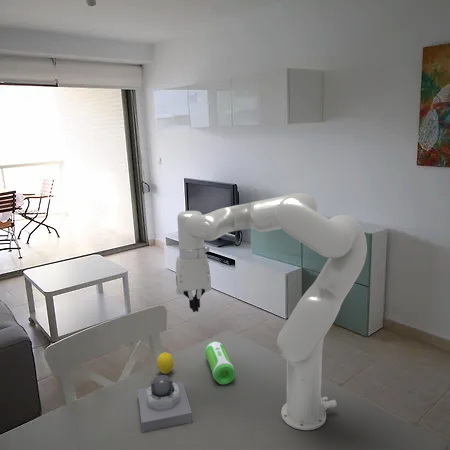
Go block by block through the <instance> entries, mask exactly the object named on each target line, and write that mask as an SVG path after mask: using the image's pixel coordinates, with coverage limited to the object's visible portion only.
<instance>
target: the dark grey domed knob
mask: <svg viewBox="0 0 450 450" xmlns="http://www.w3.org/2000/svg"><path fill="white" fill-rule="evenodd" d="M173 383H174V382H173V377H169V376H168V375H167V374H159V375H157V376H155V377H154V378H153V380H150V386H151V392H152V393H155V396H157V397H159V398H160V397H165V396H169V395H170V391H171V390H173Z"/></svg>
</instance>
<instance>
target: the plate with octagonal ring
mask: <svg viewBox="0 0 450 450" xmlns="http://www.w3.org/2000/svg"><path fill="white" fill-rule="evenodd" d="M175 383H176V384H177V385H178V389H179V397H180V402H179V403H178V404H177V405H175V406H174V407H173V408H172V409H168V410H163V411H157V410H154V409H152V408H149V405H148V398H147V389H148V388H149V387H145V388H139V389H137V394H138V395H137V396H138V406H139V414H140V422H141V431H142V433H145V432H150V431H155V430H159V429H165V428H170V427H175V426H179V425H185V424H190V423H193V412H192V408H191V405H190V402H189V399H188V395H187V392H186V389H185V384H184V382H183V381H178V382H175ZM189 422H190V423H189ZM184 423H185V424H184Z"/></svg>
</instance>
